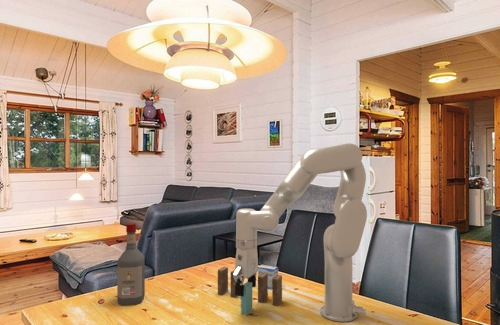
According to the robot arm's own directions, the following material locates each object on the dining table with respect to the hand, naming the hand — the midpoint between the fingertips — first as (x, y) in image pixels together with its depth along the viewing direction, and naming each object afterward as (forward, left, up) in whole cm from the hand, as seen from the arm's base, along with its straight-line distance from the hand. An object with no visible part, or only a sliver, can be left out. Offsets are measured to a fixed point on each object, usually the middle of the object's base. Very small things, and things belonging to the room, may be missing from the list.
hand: (245, 291), depth 123 cm
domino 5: (-7, -12, -8) cm, 16 cm away
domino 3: (0, 0, -8) cm, 8 cm away
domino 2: (+11, -12, -8) cm, 18 cm away
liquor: (+45, +10, -8) cm, 47 cm away
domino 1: (+17, -12, -8) cm, 22 cm away
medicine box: (+3, -27, -8) cm, 28 cm away
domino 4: (-1, -12, -8) cm, 14 cm away
